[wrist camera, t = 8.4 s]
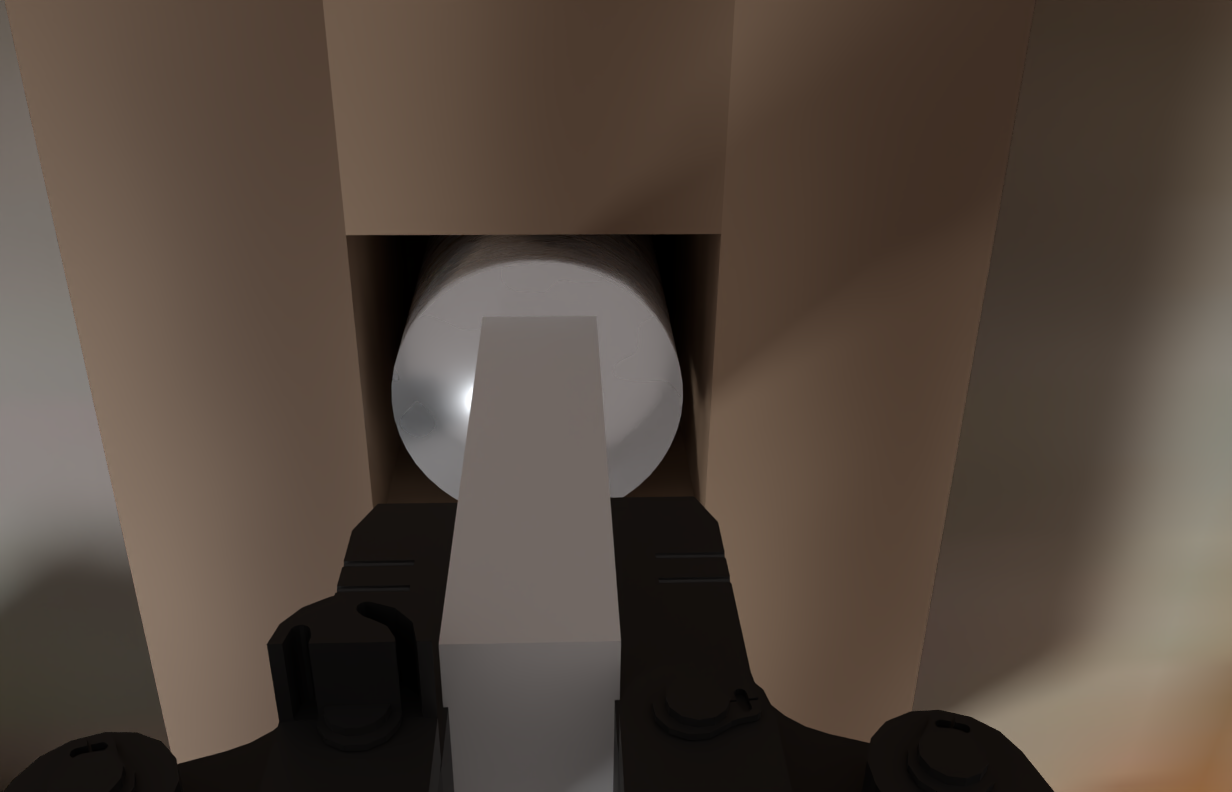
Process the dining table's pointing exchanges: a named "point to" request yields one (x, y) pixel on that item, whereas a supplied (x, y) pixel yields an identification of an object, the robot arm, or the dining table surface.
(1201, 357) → the dining table surface
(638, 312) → the peg
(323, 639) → the robot arm
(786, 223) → the tan grooved block
